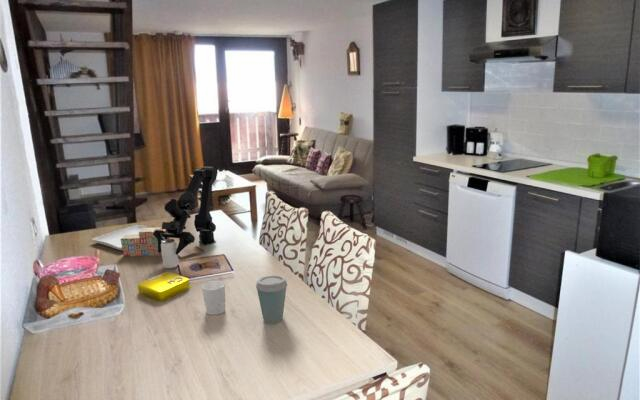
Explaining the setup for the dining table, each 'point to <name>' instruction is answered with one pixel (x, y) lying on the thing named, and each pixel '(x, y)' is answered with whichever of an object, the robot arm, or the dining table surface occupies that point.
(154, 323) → the dining table surface
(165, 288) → the element tile
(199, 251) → the tan flat board
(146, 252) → the stack of blocks
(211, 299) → the white cup
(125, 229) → the square plate
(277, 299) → the disposable coffee cup
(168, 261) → the can
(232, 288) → the dining table surface
